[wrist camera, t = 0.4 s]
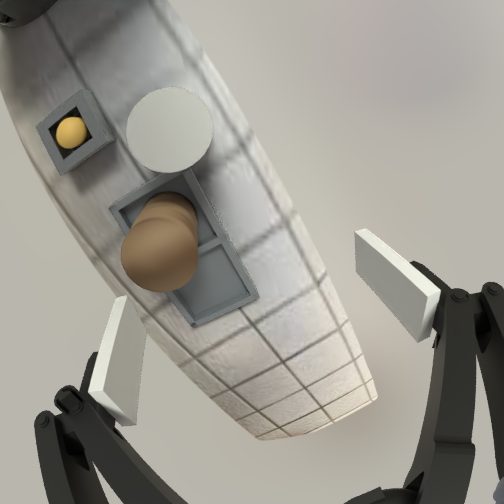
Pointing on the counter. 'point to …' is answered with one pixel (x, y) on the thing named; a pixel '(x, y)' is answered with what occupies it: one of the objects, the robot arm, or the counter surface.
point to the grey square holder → (94, 122)
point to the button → (72, 132)
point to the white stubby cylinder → (169, 129)
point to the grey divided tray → (209, 251)
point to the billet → (162, 243)
